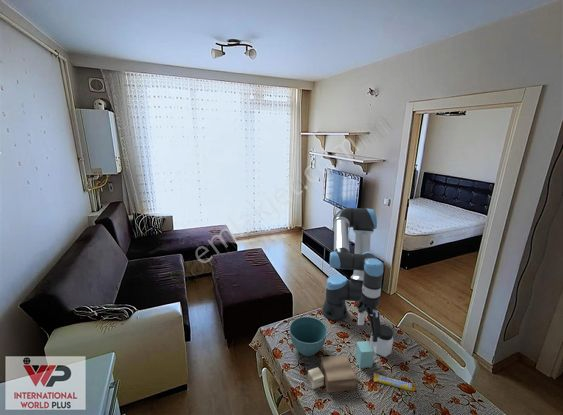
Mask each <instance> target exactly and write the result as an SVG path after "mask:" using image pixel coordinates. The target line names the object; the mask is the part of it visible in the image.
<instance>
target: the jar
mask: <svg viewBox="0 0 563 415" xmlns="http://www.w3.org/2000/svg"><path fill="white" fill-rule="evenodd" d="M380 328H381V337H378V339H377V347H372V348H373V350H374V354H376V355H379V356H381V357H384V358H386V357H387V356H389V355H390V354H392V349H393V344H394V343H393V342H394V331H393V329H392V328H391V327H390V326H388V325H386V324H381V323H380Z"/></svg>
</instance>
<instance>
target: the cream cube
mask: <svg viewBox="0 0 563 415" xmlns="http://www.w3.org/2000/svg"><path fill="white" fill-rule="evenodd" d="M307 380H308V381H307V382H309V385H310V386H311V388H312V389H313V390H315V389H318V388H320V387H323V386H324V385H325V381H324V376H323V374H322V371H321V368H319V366H317V367H314V368H311V369H309V370H307Z"/></svg>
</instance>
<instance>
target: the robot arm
mask: <svg viewBox="0 0 563 415" xmlns="http://www.w3.org/2000/svg"><path fill="white" fill-rule="evenodd" d="M377 224H378V219H377V213H376V211H375V210H374V209H372V208H367V207H365V208H361V207H360V208H359V207H358V208H357V207H345V208H342V209H340V210H339V211H337V212H336V213H335V215H334V216H333V219H332V226H333V230H334V231H333V233H334V234H333V237H334V238H333V251H331V252H330V253H329V267H330V268H333V269H338V270H352V271H353V273H352V275H351V276H350V279H347V277H346V276H345V275H342V274H332V275H331V276H329V277H328V278H327V279H326V285H325V299H324V302H323V304H322V307H321V313H322V315H323V316H324V317H325V318H326V319H328V320H331V321H334V322H339V321H340V322H341V321H343V320H345V319H346V318H348V311H349V310H348V308H347V303H346V301H350V302H356V303H357V302H358V303H357V305H356V309H357V311H358V317H357V325H358V326H363V325H365V316H366V315H367V318H369V324H370V328H371V334H370V339H369V340H370V341H369V343H370V347H372V348H373V347H377V339H378V337H381V328H380V324H381V321H380V320H381V319H380V315H381V314H380V312H378V311H377V306H379V304H380V299H381V291H382V282H383V281H382V280H383V275H384V263H383V261H381V260H380V259H378V257H377V256H376V254H375V253H373V252H371V236H372V234H373V233H374V230H376V229H377V227H378V226H377ZM349 228H352V231H353V232H354V233H355V234H354V235H355V236H354V237H355V238H354V253H351V252H350V239H349V238H350V237H349V236H350V235H349ZM365 312H366V313H367V314H366V313H365Z"/></svg>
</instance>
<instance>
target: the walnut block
mask: <svg viewBox="0 0 563 415" xmlns="http://www.w3.org/2000/svg"><path fill="white" fill-rule="evenodd" d="M320 371H321V372H322V374H323V376H324V385H325V388H326V390H327V392H326V393H333V392H334V393H336V392H343V391H344V392H346V391H355V390H356V388H357V376H356V374H355V371H354V369H353V367H352V364H351V362H350V360H349V357H348V356H347V354H341V355H329V356H321V357H320Z"/></svg>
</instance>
